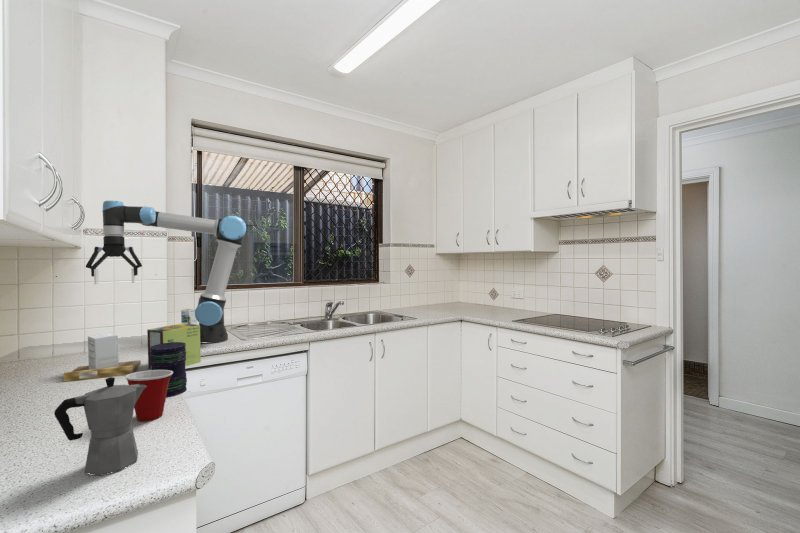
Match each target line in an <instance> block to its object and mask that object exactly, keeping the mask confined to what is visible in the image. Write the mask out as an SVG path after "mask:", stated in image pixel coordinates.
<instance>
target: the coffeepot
mask: <svg viewBox="0 0 800 533" xmlns="http://www.w3.org/2000/svg"><path fill="white" fill-rule="evenodd" d="M115 379H116V377H115V376H111V377H106V378H105V383H106V386H104V387H100V388H98V389H95V390H92V391H89V392H86V393H84V394H83V395H79V396H75V397H70V398H66V399H64V400H63V401H61V403H60V404H59V405H58V406H57V407H56V409H55V410H54V411H53V412H54V417H55V418H56V421H57V422H58V424H59V426H60V428H61V429H62V430H63V433H64V435H65V436H66V438H67V440H68V441H76V440H79V439H81V438H82V437H83V435H84V433H83V432H80V433H75V429H74V425H73V424H72V423H71V420H70V417H69V414H68V413H67V411H68V410H69V409H73V408H81V407H83V409H84V414H85V418H86V422H87V427H88V430H90V438H89V444H88V449H87V455H86V462H85V466H84V472H85V473H84V474H86V473H90V474H95V475H97V476H102V475H101V474H106V475H108V474H107V473H111V472H114V473H116V472H115V471H117V472H119V471H118V470H120V471H122V470H121V469H123V470H125V469H126V468H125V467H127V468H129V467H130V466H132V465H133V464H135V463H136V462H137V461H138V457H139V451H138V446H137V442H136V438H135V434H134V430H133V427H132V421H133V417H134V412H135V409H134V405H135V403H136V402H137V400H138V398H139V396H140V395H141V393H142V391H143V390H144V389H145V388H146V387H147V386H146V385H144V384H135V385H129V384H115V381H116V380H115ZM135 461H136V462H135ZM134 462H135V463H134ZM131 464H132V465H131ZM129 465H130V466H129ZM128 466H129V467H128ZM124 468H125V469H124ZM111 474H112V473H111ZM95 475H94V476H95Z"/></svg>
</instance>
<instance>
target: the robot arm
mask: <svg viewBox="0 0 800 533" xmlns="http://www.w3.org/2000/svg"><path fill="white" fill-rule="evenodd" d="M128 223H129V224H140V225H142V226H145V227H155V228H163V229H164V228H165V229H168V230H169V229H170V230H177V231H186V232H193V233H199V234H200V233H201V234H208V235H213V236H215V237H216V242H217V244H218V245H217V248H216V252H215V256H214V259H213V263H212V267H211V270H210V273H209V277H208V280H207V284H206V288H205V291H204V292H203V293H201V294H200V296H199V297H198V303H197V306H196V308H194V309H195V317H196V320H197V323H199V324H198V325H200V342H217V343H220V342H219V341H222V342H225V341H224V340H226V341H227V339H228V340H229V334H228V331H227V328H226V326H225V306H226V303H227V298H226V297H225V293H226V290H227V287H228V283H229V279H230V275H231V273H232V268H233V266H234V262H235V258H236V254H237V250H239V248H241V247H242V245H243V242H244V237H245V235H246V233H247V232H246V231H247V224H246V223H245V220H244V219H242V218H241V217H240V216H237V215H228V216H225V217H224V218H217V219H211V218H206V217H205V218H204V217H198V216H197V217H196V216H191V215H190V216H189V215H184V214H175V213H170V212H169V213H168V212H163V211H156V210H155V208H154V207H151V206H145V205H144V206H127V205H125V204H124V202H123V201H119V200H105V201H103V203H102V235H103V246H102V247H101V246H94V248H93V249H94V250H93V253H92V254H91V256H90V258H89V260H88V262H86V265H85V268H88V269H90V273H91V274H90V276H91V277H93V278H94V280H93V283H94V285H99V269H98V267H99V266H100V265H101V264H102V263H103V262H104V261H105V260H106V259H107V258H109V257H110V258H114V257H115V258H119V257H121V258H122V259H123V260H125V262H126V263H128V265H130V266H131V267H132V268H131V283H132V284H135V283H136V276H138V275H139V274H138V273H139V272H138V269H139V268H142V267H143V264H142V263H141V261H140V259H139V258H138V256H137V255H136V253H135V250H134V247H133V246H127V247H126V245H125V236H124V235H125V224H128ZM102 251H103V252H104V253H103V254H102V255H101V256H100V258H99V259H98V260H96V258H97V257H98V255H99V254H100V252H102ZM126 251H127V252H129V254H130V256H131V257H132V258H133V260H134V261H133V260H132V259H130V258H129V256H127V254H125V252H126ZM95 260H96V261H95ZM94 262H95V263H94ZM93 263H94V264H93Z"/></svg>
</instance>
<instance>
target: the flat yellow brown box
mask: <svg viewBox="0 0 800 533" xmlns="http://www.w3.org/2000/svg"><path fill="white" fill-rule="evenodd" d="M141 364H142V363H141V359H140V360H131V361H130V360H129V361H121V362H120V361H119V367H111V368H102V369H92V370H89V365H82V366H77V367H76V368H74V369H73V370H72V371H66V372H63V382H64V381H67V382H75V381H74V380H76V381H83V380H84V381H85V380H90V379H92V380H93V379H101V378H109V377H118V376H126V375H128V374H131V373H135V372H136V370H138V368H139V367H140V366H141Z"/></svg>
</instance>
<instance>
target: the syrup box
mask: <svg viewBox="0 0 800 533" xmlns="http://www.w3.org/2000/svg"><path fill="white" fill-rule="evenodd" d="M195 309H196V308H183V309H181V310H180V316H181V317H180V318H181V319H180V320H181V322H180V324H182V323H187V324H196V325H198V321H197V320H196V317H195Z"/></svg>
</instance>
